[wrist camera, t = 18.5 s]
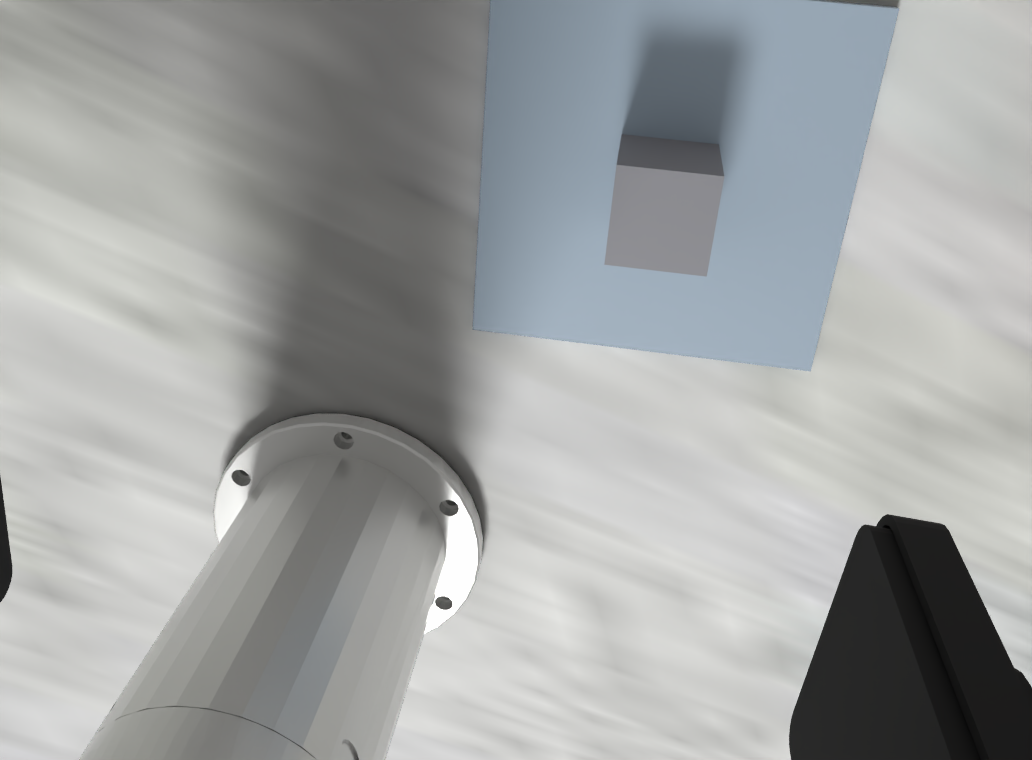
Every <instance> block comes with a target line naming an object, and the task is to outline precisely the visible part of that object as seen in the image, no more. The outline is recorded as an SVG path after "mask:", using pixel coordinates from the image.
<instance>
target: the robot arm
mask: <svg viewBox="0 0 1032 760" xmlns="http://www.w3.org/2000/svg"><path fill="white" fill-rule="evenodd" d="M213 515H214V527H215V533H216V536H217V540H218V543H219V544H218V545H217V547H216V549H215V550H214V552H213V553H212V555H211V556H210V558H209V559H208V561H207V562H206V564H205V565H204V567H203V569H202V570H201V572H200V573H199V575H198V576H197V578H196V579H195V581H194V582H193V584H192V585H191V587H190V588H189V590H188V592H187V593H186V595H185V596H184V598H183V599H182V601H181V602H180V604H179V605H178V607H177V608H176V610H175V612H174V613H173V615H172V616H171V618H170V619H169V621H168V622H167V624H166V625H165V627H164V628H163V630H162V632H161V633H160V635H159V636H158V638H157V639H156V641H155V642H154V644H153V645H152V647H151V648H150V650H149V652H148V653H147V655H146V656H145V658H144V659H143V661H142V662H141V664H140V665H139V667H138V668H137V670H136V671H135V673H134V675H133V676H132V678H131V679H130V681H129V682H128V684H127V685H126V687H125V688H124V690H123V691H122V693H121V695H120V696H119V698H118V699H117V701H116V702H115V704H114V705H113V707H112V709H111V710H110V712H109V714H108V715H107V716H106V718H105V719H104V721H103V722H102V724H101V725H100V727H99V729H98V730H97V732H96V733H95V735H94V736H93V738H92V740H91V741H90V743H89V744H88V746H87V747H86V749H85V751H84V752H83V754H82V755H81V757H80V758H79V760H385V759H386V756H387V753H388V749H389V746H390V743H391V740H392V736H393V733H394V730H395V727H396V723H397V720H398V717H399V714H400V711H401V707H402V704H403V701H404V698H405V694H406V691H407V688H408V685H409V682H410V678H411V675H412V672H413V669H414V665H415V662H416V659H417V656H418V652H419V649H420V646H421V643H422V640H423V636H424V634H425V633H427V632H429V631H431V630H433V629H435V628H437V627H439V626H440V625H441V624H443V623H444V622H445V621H447V620H448V619H449V618H450V617H452V616H453V615H454V614H455V613H456V612H457V611H458V610H459V608H460V607H461V606H462V605H463V603H464V602H465V601H466V600H467V599H468V596H469V594H470V592H471V590H472V588H473V586H474V584H475V582H476V579H477V575H478V571H479V567H480V564H481V560H482V547H483V536H482V529H481V523H480V517H479V515H478V512H477V510H476V507H475V504H474V502H473V499H472V497H471V495H470V493H469V492H468V490H467V489H466V487H465V486H464V484H463V483H462V481H461V479H460V478H459V476H458V475H457V474H456V473H455V472H454V471H453V470H452V469H451V468H450V466H449V465H448V464H447V463H446V462H445V461H444V460H443V459H442V458H441V457H440V456H439V455H437V454H436V453H435V452H434V451H432V450H431V449H430V448H428V447H427V446H426V445H424V444H423V443H422V442H421V441H419V440H417V439H415V438H414V437H412V436H410V435H408V434H406V433H404V432H402V431H401V430H399V429H397V428H395V427H392V426H389V425H386V424H383V423H381V422H378V421H375V420H372V419H369V418H363V417H358V416H352V415H346V414H311V415H305V416H299V417H293V418H290V419H287V420H284V421H282V422H279V423H276V424H274V425H271V426H269V427H267V428H266V429H264V430H263V431H261V432H260V433H258V434H257V435H255V436H254V437H252V438H251V439H250V440H249V441H248V442H247V443H246V444H245V445H244V446H243V447H242V448H241V449H240V450H239V451H238V452H237V453H236V455H235V456H234V457H233V459H232V460H231V462H230V463H229V464H228V466H227V467H226V469H225V470H224V472H223V475H222V477H221V480H220V482H219V484H218V487H217V489H216V494H215V501H214V508H213ZM11 578H12V561H11V553H10V546H9V538H8V531H7V523H6V515H5V508H4V500H3V493H2V485H1V477H0V602H1V601H2V599H3V598H4V597H5V595H6V593H7V591H8V588H9V585H10V582H11ZM789 746H790V754H791V760H1032V687H1031V685H1030V684H1029V682H1028V681H1027V679H1026V678H1025V676H1024V675H1023V673H1022V672H1020V671H1018V670H1017V669H1015V668H1014V667H1013V665H1012V663H1011V660H1010V658H1009V656H1008V654H1007V652H1006V650H1005V648H1004V646H1003V644H1002V641H1001V639H1000V637H999V635H998V633H997V631H996V629H995V627H994V625H993V623H992V620H991V618H990V616H989V614H988V612H987V610H986V608H985V606H984V604H983V602H982V599H981V597H980V595H979V593H978V591H977V589H976V587H975V585H974V583H973V580H972V578H971V576H970V574H969V572H968V570H967V568H966V566H965V564H964V562H963V559H962V557H961V555H960V553H959V551H958V549H957V547H956V545H955V543H954V540H953V538H952V536H951V534H950V532H949V530H948V529H947V528H946V526H945V525H943V524H940V523H934V522H928V521H923V520H917V519H911V518H906V517H900V516H894V515H889V514H887V515H885V516H883V517H882V518H881V520H880V521H879V522H878V524H877V526H870V525H863V526H862V527H861V528H860V529H859V531H858V533H857V535H856V537H855V540H854V543H853V546H852V549H851V551H850V554H849V557H848V560H847V563H846V566H845V568H844V571H843V574H842V577H841V580H840V582H839V585H838V588H837V591H836V594H835V596H834V599H833V602H832V605H831V608H830V610H829V613H828V616H827V619H826V622H825V624H824V627H823V630H822V633H821V636H820V638H819V641H818V644H817V647H816V650H815V652H814V655H813V658H812V661H811V664H810V666H809V669H808V672H807V675H806V678H805V680H804V683H803V686H802V689H801V692H800V695H799V697H798V700H797V703H796V706H795V709H794V711H793V715H792V719H791V724H790V734H789Z"/></svg>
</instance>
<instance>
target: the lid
mask: <svg viewBox="0 0 1032 760" xmlns="http://www.w3.org/2000/svg"><path fill="white" fill-rule="evenodd" d="M898 11H899V8H897V7H890V6H879V5H868V4H857V3H846V2H835V1H824V0H490V17H489V36H488V54H487V73H486V91H485V110H484V128H483V147H482V165H481V184H480V202H479V221H478V240H477V258H476V277H475V295H474V314H473V330H480V331H488V332H496V333H504V334H512V335H520V336H529V337H537V338H545V339H553V340H561V341H569V342H577V343H585V344H593V345H601V346H609V347H618V348H626V349H634V350H642V351H650V352H658V353H666V354H674V355H682V356H690V357H698V358H706V359H715V360H723V361H731V362H739V363H747V364H755V365H763V366H771V367H779V368H787V369H795V370H803V371H811V367H812V363H813V359H814V355H815V351H816V347H817V343H818V339H819V335H820V330H821V326H822V322H823V318H824V314H825V310H826V306H827V302H828V298H829V294H830V290H831V285H832V281H833V277H834V273H835V269H836V265H837V261H838V257H839V253H840V249H841V245H842V240H843V236H844V232H845V228H846V224H847V220H848V216H849V212H850V208H851V204H852V200H853V195H854V191H855V187H856V183H857V179H858V175H859V171H860V167H861V163H862V159H863V155H864V150H865V146H866V142H867V138H868V134H869V130H870V126H871V122H872V118H873V114H874V110H875V105H876V101H877V97H878V93H879V89H880V85H881V81H882V77H883V73H884V69H885V65H886V60H887V56H888V52H889V48H890V44H891V40H892V36H893V32H894V28H895V24H896V20H897V15H898Z"/></svg>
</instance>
